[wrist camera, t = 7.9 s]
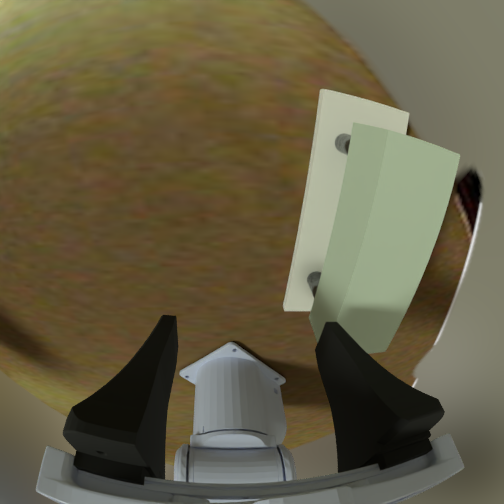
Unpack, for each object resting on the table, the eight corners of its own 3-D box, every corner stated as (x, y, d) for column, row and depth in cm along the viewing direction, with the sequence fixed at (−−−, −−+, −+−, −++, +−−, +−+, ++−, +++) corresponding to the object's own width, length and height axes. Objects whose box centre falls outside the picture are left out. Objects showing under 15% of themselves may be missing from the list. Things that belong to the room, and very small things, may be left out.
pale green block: (366, 316, 21) (385, 351, 18) (308, 317, 21) (322, 357, 17) (419, 141, 15) (460, 154, 11) (353, 122, 14) (388, 129, 11)
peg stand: (352, 305, 26) (368, 333, 22) (283, 305, 25) (291, 336, 22) (403, 112, 17) (435, 117, 14) (320, 89, 17) (341, 86, 13)
